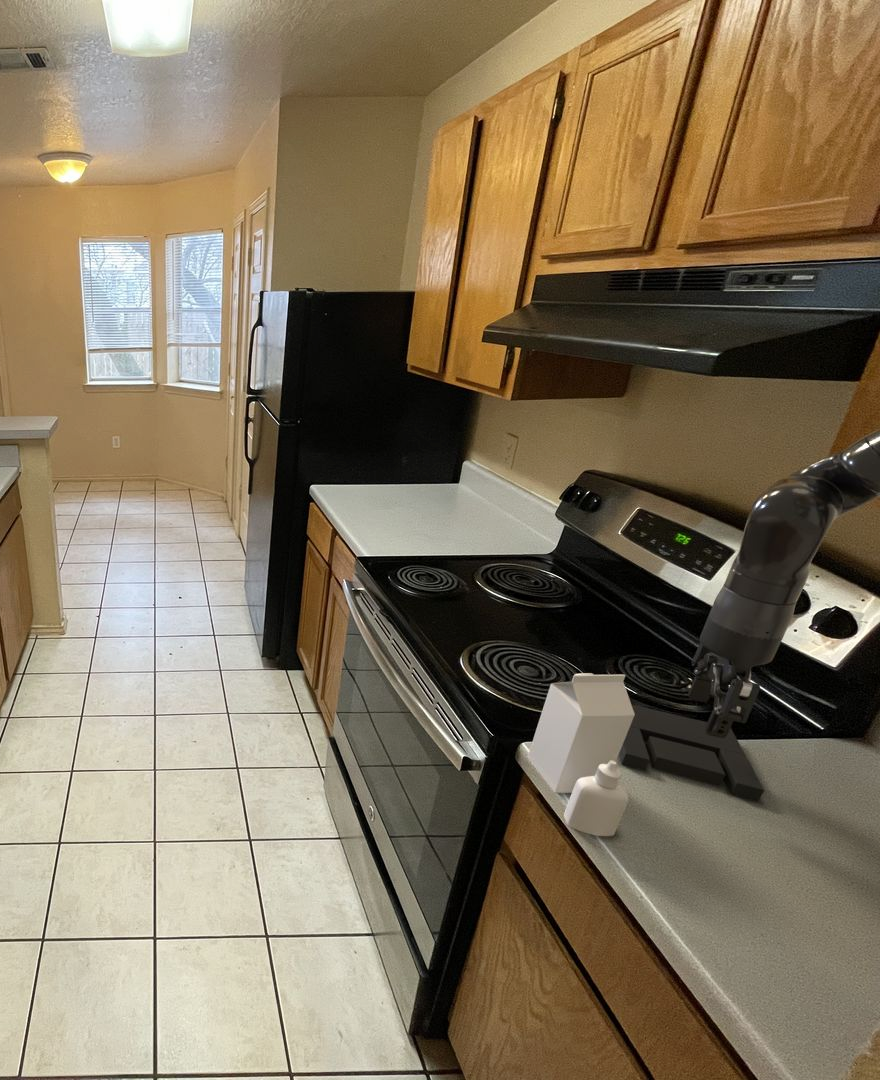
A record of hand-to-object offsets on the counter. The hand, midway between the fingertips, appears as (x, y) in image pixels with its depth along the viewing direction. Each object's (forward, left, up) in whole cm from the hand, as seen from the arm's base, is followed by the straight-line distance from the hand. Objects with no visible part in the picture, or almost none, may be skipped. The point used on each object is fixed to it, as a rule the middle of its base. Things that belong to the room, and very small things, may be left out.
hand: (705, 716), depth 86 cm
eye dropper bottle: (+14, +19, -11) cm, 26 cm away
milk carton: (+16, +10, -11) cm, 22 cm away
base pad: (0, -3, -10) cm, 11 cm away
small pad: (0, 0, -10) cm, 10 cm away
